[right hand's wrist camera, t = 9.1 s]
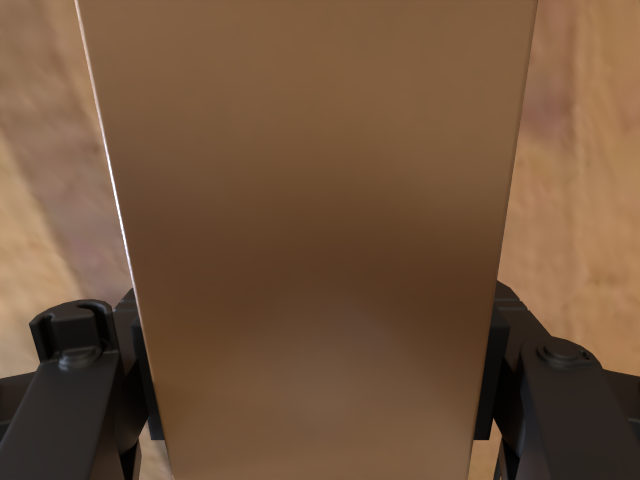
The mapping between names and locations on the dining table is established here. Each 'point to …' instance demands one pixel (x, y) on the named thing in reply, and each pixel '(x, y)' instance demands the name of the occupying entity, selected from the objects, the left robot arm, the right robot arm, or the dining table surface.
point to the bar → (312, 222)
